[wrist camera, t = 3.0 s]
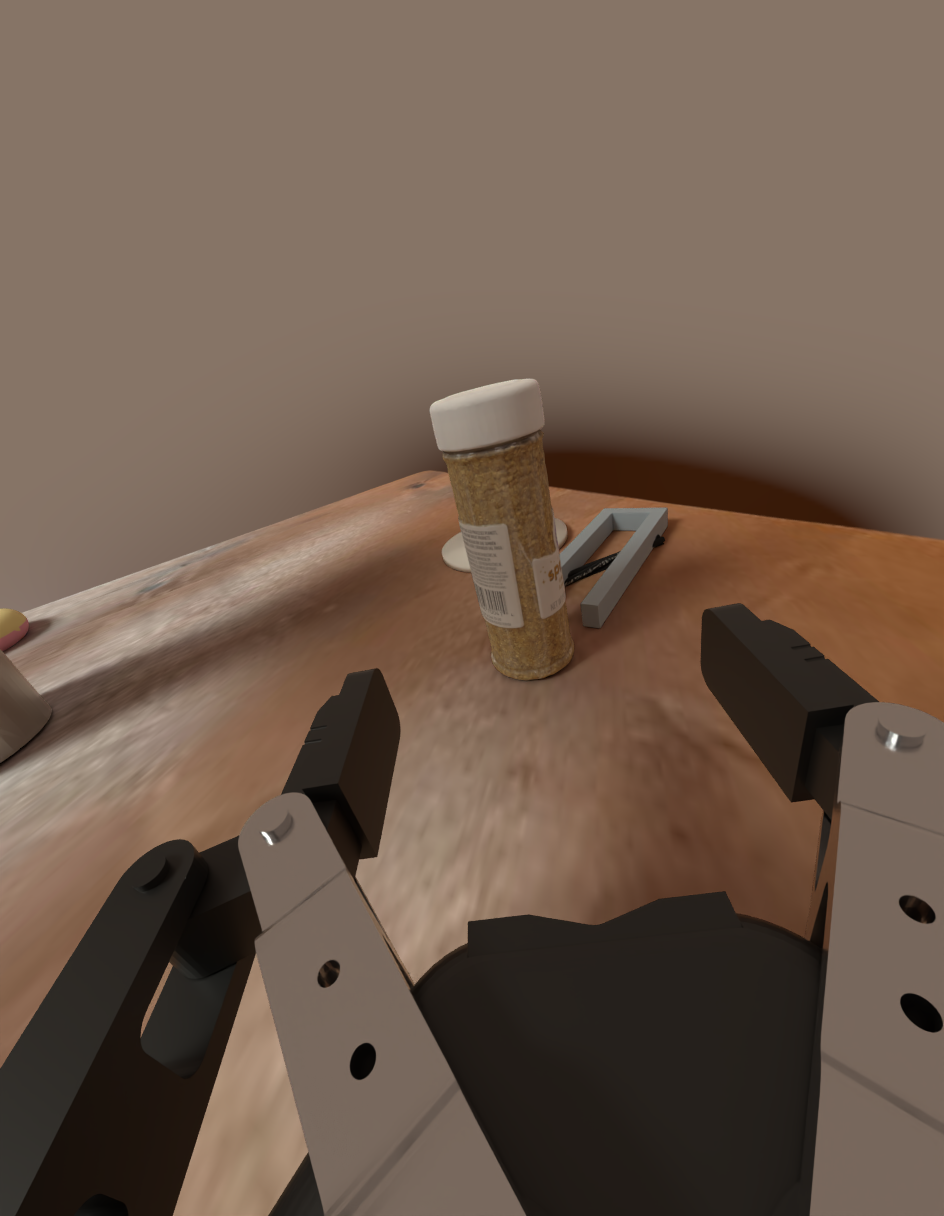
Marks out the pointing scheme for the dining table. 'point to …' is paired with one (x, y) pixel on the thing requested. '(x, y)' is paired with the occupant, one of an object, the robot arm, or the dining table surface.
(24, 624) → the donut
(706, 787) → the dining table surface
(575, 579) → the black marker pen
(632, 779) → the dining table surface
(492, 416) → the sprinkles bottle
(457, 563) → the coaster
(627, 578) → the grey u-shaped piece
